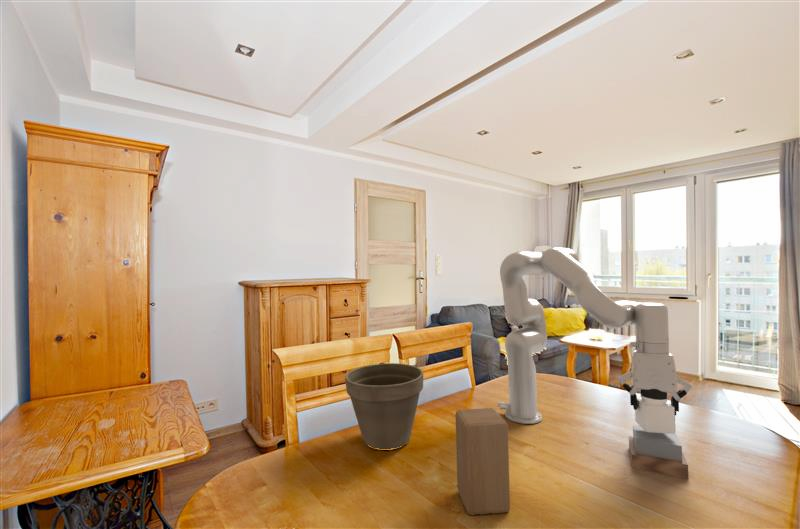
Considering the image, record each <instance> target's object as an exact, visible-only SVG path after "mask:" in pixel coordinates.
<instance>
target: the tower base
mask: <svg viewBox="0 0 800 529" xmlns="http://www.w3.org/2000/svg"><path fill="white" fill-rule="evenodd" d="M628 449H629V455H630V456H629V457H630V461H631V468H632V469H636V470H642V471H645V472H646V471H647V472H651V473H656V474H662V475H667V476H672V477H675V478H676V477H677V478H682V479H687V480H689V464H688V462H687V459H686V457H685V455H684V453H683V452H682V462H680V461H675V460H669V459H664V458H658V457H653V456H647V455H642V454H637V453H636V450H635V445H634V439H633V436H628Z"/></svg>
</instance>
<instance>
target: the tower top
mask: <svg viewBox="0 0 800 529" xmlns="http://www.w3.org/2000/svg"><path fill="white" fill-rule="evenodd" d="M632 437H633V439H634V445H635V450H636V453H637V454H642V455H647V456H653V457H658V458H664V459H669V460H675V461H680V462H682V453H683V446H682V443H681V441H680V438H679V437H678V434H677V432H676V431H675V434H669V433H652V432H646V431H645V430H644V429H643V428H642V427H641V426H640V425H639V424H632Z"/></svg>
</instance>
